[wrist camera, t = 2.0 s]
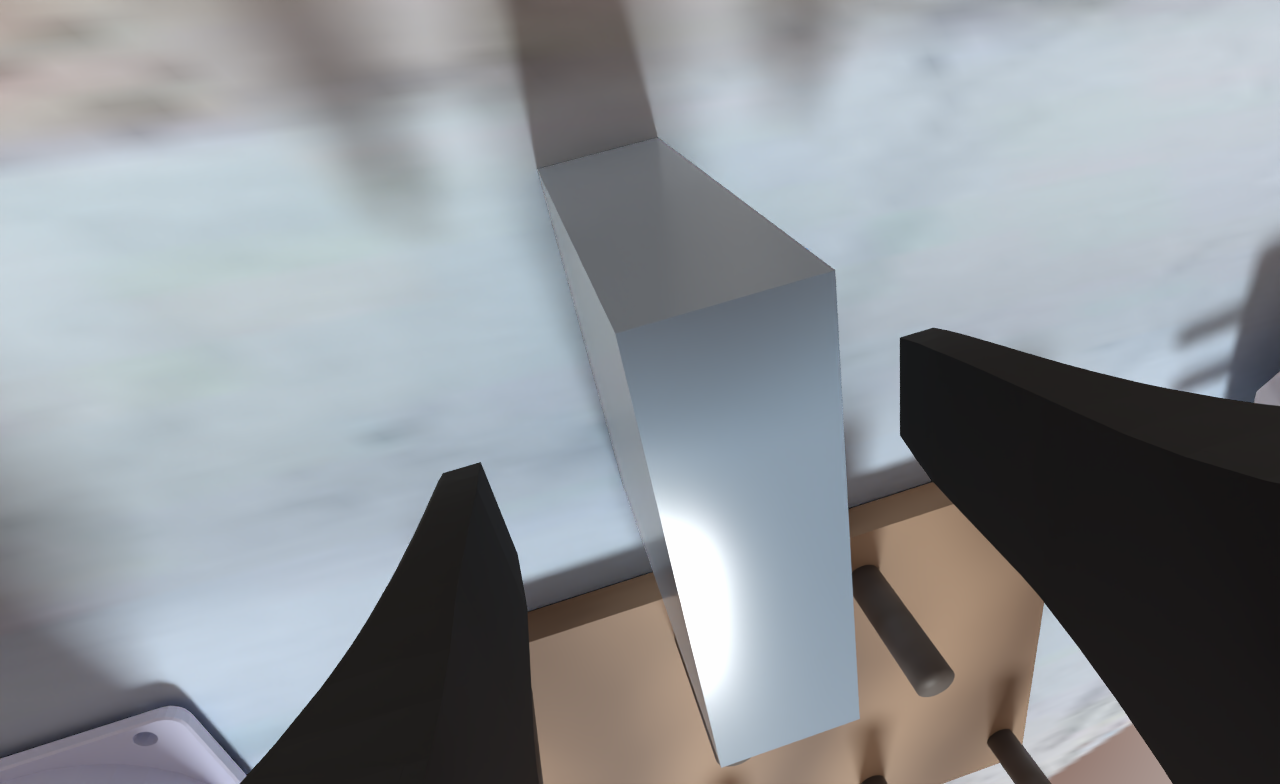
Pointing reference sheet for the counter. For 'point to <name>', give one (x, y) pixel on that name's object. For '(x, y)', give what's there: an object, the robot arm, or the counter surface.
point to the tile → (721, 432)
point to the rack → (886, 670)
